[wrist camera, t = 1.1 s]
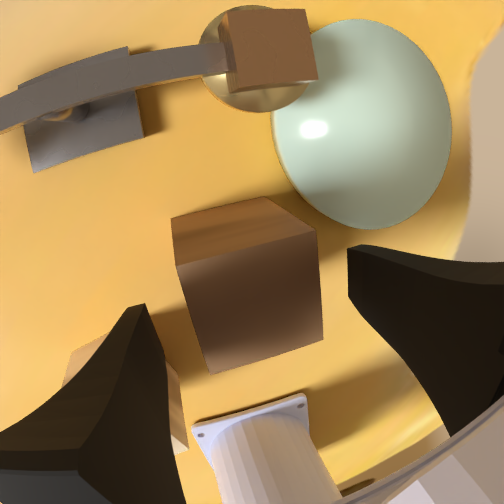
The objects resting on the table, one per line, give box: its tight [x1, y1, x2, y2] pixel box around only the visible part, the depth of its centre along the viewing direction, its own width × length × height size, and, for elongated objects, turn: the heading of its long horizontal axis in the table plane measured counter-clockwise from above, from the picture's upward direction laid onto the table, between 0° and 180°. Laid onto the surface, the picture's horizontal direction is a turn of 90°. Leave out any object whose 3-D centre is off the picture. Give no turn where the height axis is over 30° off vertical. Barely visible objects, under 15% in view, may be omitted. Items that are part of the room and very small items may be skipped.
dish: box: [270, 19, 452, 230], centre depth 14 cm, size 11×11×1 cm
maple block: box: [62, 332, 189, 455], centre depth 14 cm, size 4×4×6 cm
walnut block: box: [171, 197, 323, 375], centre depth 13 cm, size 4×4×6 cm
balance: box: [0, 5, 319, 173], centre depth 8 cm, size 4×18×6 cm, turn 100°
